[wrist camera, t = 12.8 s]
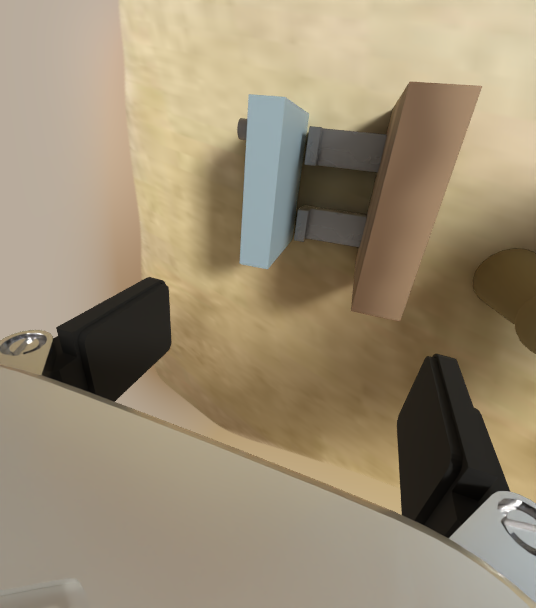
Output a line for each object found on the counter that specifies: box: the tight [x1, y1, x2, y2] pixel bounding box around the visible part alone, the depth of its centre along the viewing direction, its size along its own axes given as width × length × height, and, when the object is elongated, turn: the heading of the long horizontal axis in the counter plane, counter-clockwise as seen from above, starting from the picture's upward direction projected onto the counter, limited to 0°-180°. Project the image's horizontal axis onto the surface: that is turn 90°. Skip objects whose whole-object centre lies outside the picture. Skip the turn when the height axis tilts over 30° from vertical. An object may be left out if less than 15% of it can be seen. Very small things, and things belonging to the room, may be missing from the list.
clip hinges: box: [294, 126, 387, 247], centre depth 30 cm, size 12×10×3 cm
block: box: [237, 94, 309, 269], centre depth 27 cm, size 4×12×10 cm, turn 175°
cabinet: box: [351, 82, 482, 321], centre depth 24 cm, size 4×14×12 cm, turn 175°
